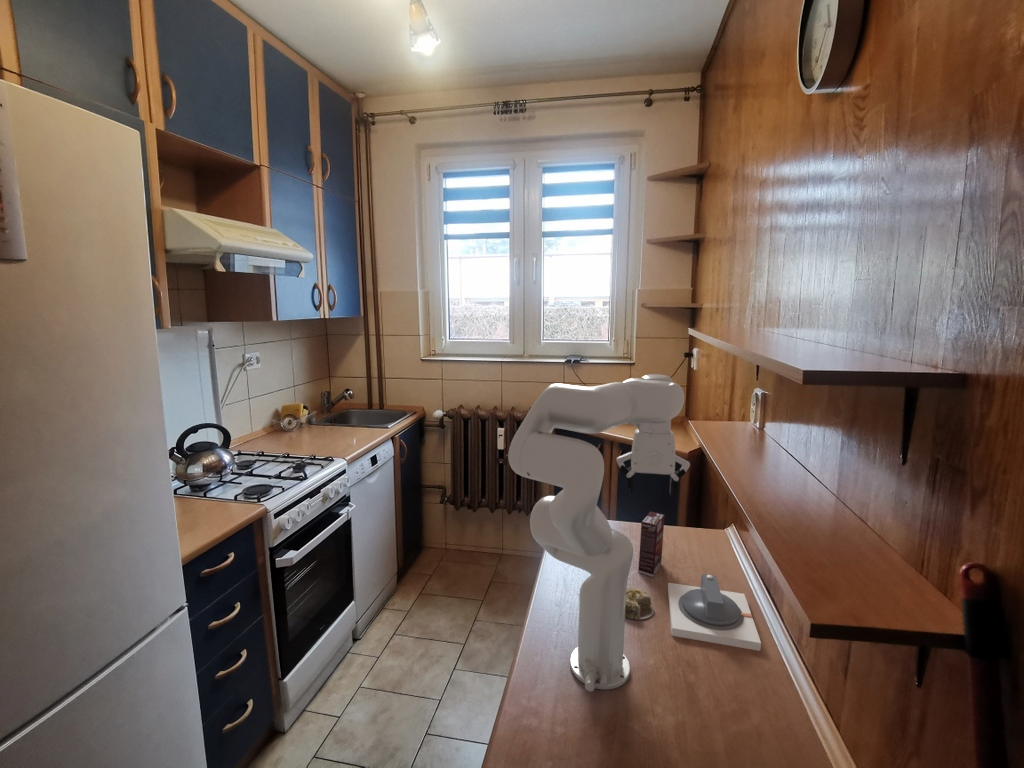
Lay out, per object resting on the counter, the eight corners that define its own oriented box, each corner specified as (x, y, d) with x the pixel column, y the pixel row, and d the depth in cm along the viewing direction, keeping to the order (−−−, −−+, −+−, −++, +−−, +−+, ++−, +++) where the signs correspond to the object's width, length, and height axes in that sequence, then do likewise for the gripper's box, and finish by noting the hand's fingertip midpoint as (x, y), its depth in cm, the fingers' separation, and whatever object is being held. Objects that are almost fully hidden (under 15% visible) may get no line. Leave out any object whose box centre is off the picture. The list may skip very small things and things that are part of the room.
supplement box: (654, 578, 136) (657, 525, 133) (637, 573, 139) (640, 521, 136) (662, 564, 143) (665, 514, 141) (646, 559, 146) (648, 510, 143)
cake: (607, 613, 122) (607, 593, 121) (623, 595, 130) (622, 576, 129) (645, 626, 116) (645, 605, 115) (659, 605, 124) (659, 586, 123)
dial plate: (760, 651, 108) (761, 641, 107) (671, 635, 113) (672, 626, 112) (743, 600, 126) (744, 592, 126) (667, 589, 131) (668, 581, 130)
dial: (744, 630, 111) (746, 606, 110) (684, 620, 114) (686, 597, 113) (733, 597, 123) (735, 575, 122) (680, 589, 127) (682, 568, 126)
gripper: (617, 428, 114) (615, 496, 117) (694, 432, 110) (690, 502, 113) (617, 420, 121) (615, 484, 124) (689, 423, 117) (685, 489, 120)
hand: (651, 492), depth 119 cm, fingers open, 9 cm apart
